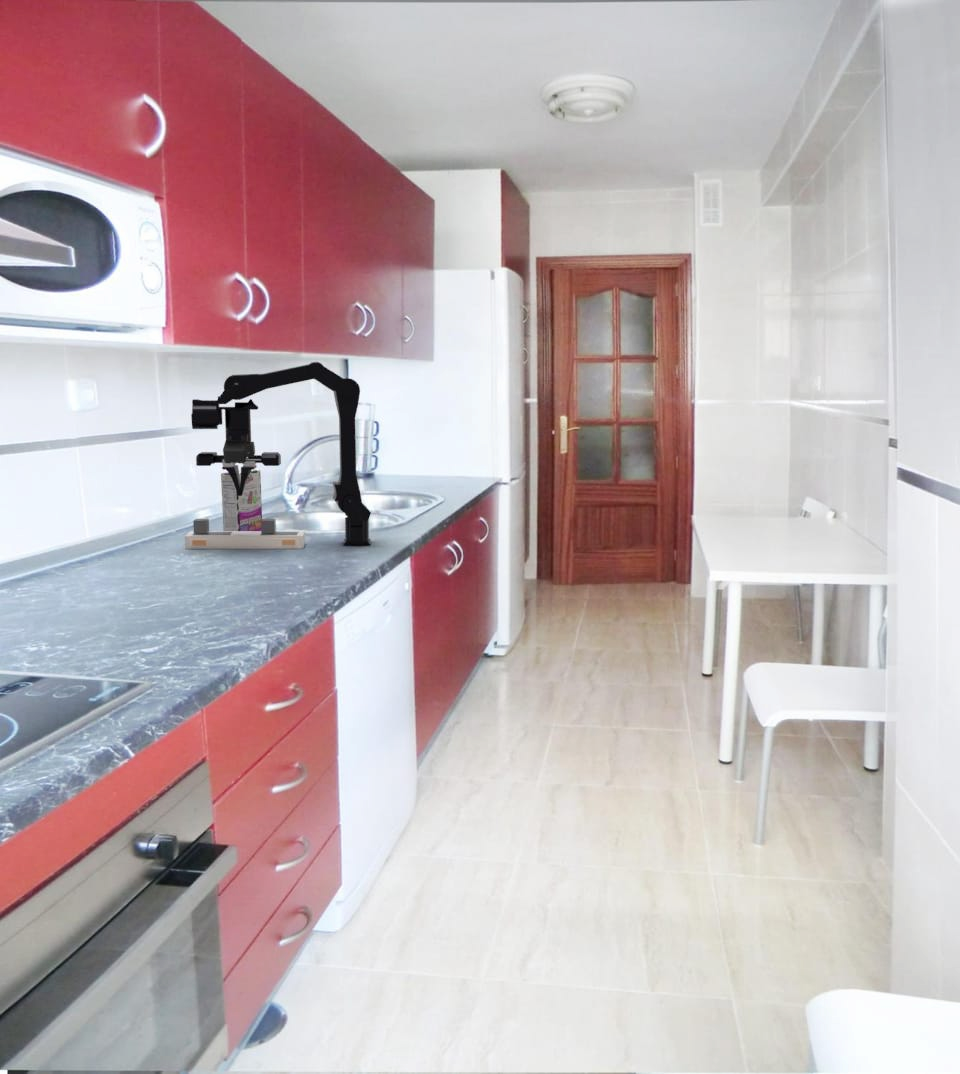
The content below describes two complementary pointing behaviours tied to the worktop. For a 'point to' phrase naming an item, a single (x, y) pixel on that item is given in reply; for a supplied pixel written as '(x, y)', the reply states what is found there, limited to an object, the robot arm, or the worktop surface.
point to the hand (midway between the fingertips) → (240, 495)
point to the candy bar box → (242, 503)
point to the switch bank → (245, 540)
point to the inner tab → (268, 525)
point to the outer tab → (201, 525)
